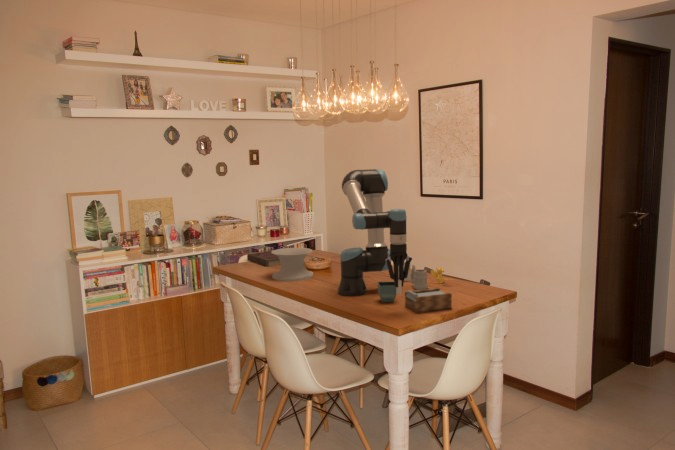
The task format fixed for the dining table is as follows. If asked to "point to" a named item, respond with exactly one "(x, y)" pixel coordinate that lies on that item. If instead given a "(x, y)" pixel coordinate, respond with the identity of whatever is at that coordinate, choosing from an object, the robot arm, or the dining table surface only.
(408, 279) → the ink box
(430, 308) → the box
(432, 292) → the lid
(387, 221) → the robot arm
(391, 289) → the flower pot
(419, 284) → the mug
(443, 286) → the dining table surface
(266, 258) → the book
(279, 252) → the grey spool stand
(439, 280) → the figurine
